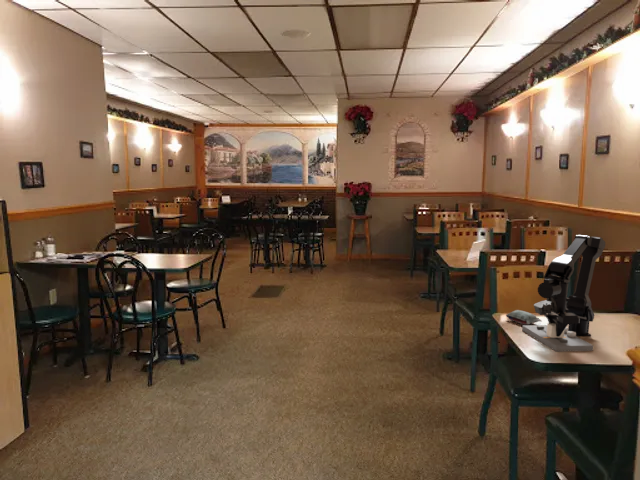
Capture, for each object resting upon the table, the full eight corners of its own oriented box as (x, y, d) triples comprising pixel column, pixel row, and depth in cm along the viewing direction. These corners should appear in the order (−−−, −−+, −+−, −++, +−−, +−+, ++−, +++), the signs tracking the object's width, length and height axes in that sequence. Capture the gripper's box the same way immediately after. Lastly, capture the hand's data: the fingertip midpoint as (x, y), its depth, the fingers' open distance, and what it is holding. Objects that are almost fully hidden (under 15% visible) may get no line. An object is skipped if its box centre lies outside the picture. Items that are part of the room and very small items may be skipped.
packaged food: (519, 317, 213) (520, 307, 212) (541, 325, 202) (542, 314, 201) (504, 320, 209) (505, 309, 208) (526, 328, 198) (527, 316, 198)
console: (522, 330, 195) (522, 321, 194) (554, 329, 196) (555, 321, 195) (555, 351, 171) (556, 341, 170) (592, 350, 172) (593, 341, 172)
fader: (546, 334, 181) (547, 323, 181) (559, 334, 182) (560, 322, 181) (551, 337, 178) (552, 325, 178) (563, 337, 179) (564, 325, 178)
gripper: (525, 288, 186) (522, 327, 188) (552, 301, 168) (548, 343, 170) (552, 288, 187) (549, 327, 189) (582, 300, 169) (578, 343, 171)
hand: (555, 334), depth 180 cm, fingers closed on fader, 3 cm apart
